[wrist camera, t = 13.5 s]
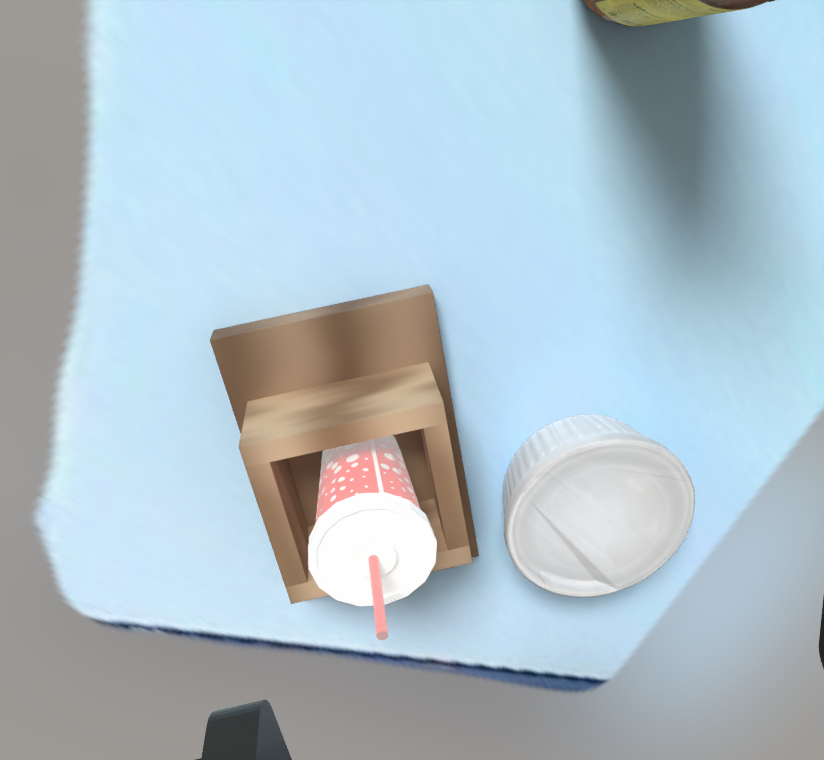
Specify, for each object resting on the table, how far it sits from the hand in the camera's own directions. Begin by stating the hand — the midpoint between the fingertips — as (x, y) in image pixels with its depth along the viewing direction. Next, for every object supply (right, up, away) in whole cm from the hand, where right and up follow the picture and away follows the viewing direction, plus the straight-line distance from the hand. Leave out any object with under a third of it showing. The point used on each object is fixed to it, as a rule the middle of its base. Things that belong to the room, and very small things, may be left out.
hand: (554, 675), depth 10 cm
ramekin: (+8, -2, +36) cm, 37 cm away
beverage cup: (-5, 0, +31) cm, 32 cm away
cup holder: (-5, 0, +33) cm, 33 cm away
